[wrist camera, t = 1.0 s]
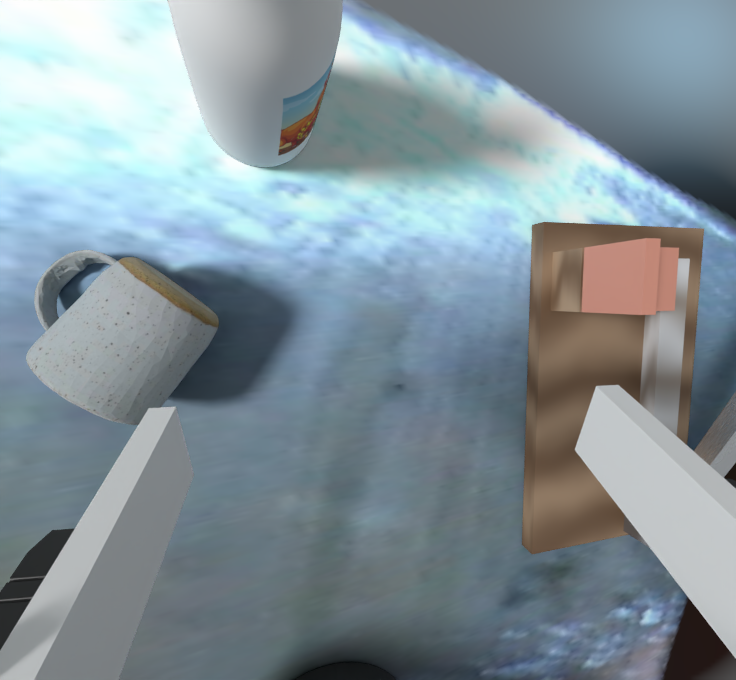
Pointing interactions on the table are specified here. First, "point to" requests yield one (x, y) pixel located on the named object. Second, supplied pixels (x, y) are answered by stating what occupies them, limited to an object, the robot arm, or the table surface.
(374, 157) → the table surface
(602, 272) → the bracket
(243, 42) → the milk bottle
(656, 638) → the table surface
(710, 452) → the tong arm
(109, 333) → the ceramic mug
